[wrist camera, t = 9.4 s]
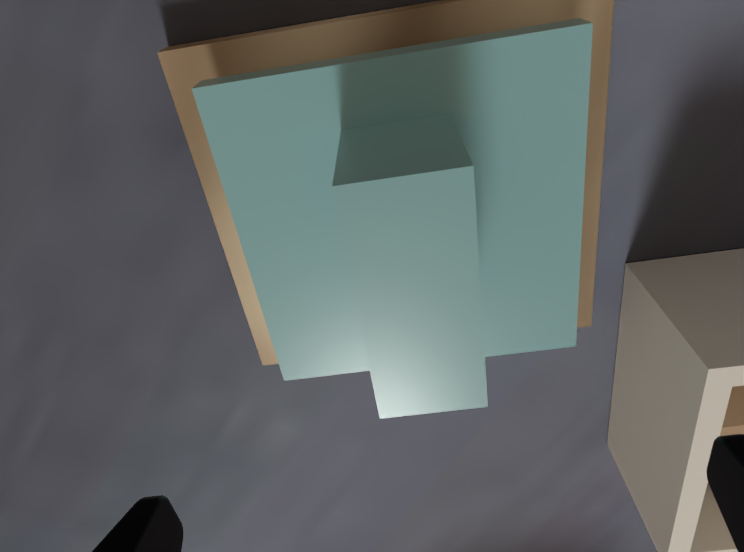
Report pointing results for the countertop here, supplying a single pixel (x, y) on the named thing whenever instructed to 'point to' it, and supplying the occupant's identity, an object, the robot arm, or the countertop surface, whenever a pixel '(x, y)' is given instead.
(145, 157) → the countertop surface
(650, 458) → the storage box
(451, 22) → the wooden board
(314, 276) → the lid
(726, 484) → the robot arm
